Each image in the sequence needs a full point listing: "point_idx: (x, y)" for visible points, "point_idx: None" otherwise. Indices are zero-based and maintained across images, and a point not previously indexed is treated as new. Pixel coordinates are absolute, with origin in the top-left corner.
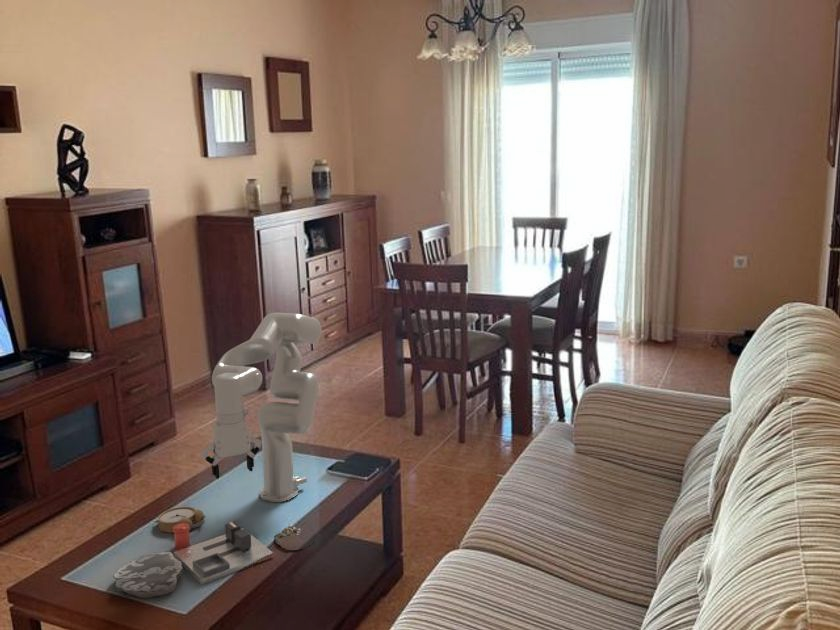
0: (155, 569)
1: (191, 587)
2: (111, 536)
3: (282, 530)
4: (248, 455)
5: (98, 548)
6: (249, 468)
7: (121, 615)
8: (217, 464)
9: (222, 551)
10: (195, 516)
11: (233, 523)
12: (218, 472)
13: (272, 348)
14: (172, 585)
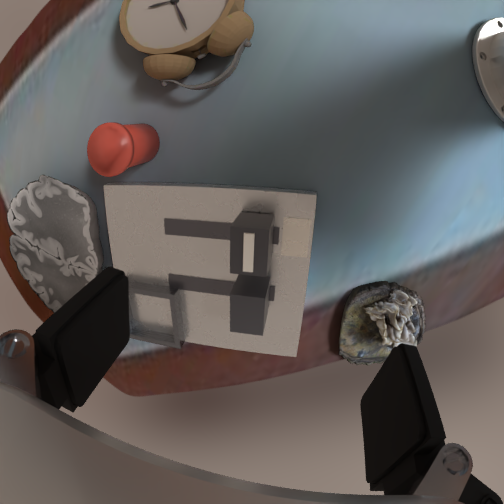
0: (55, 250)
1: None
2: (56, 9)
3: (378, 311)
4: (400, 481)
5: (26, 52)
6: (367, 406)
7: (30, 296)
8: (71, 390)
9: (200, 270)
10: (208, 45)
11: (257, 243)
12: (105, 366)
13: None
14: None
